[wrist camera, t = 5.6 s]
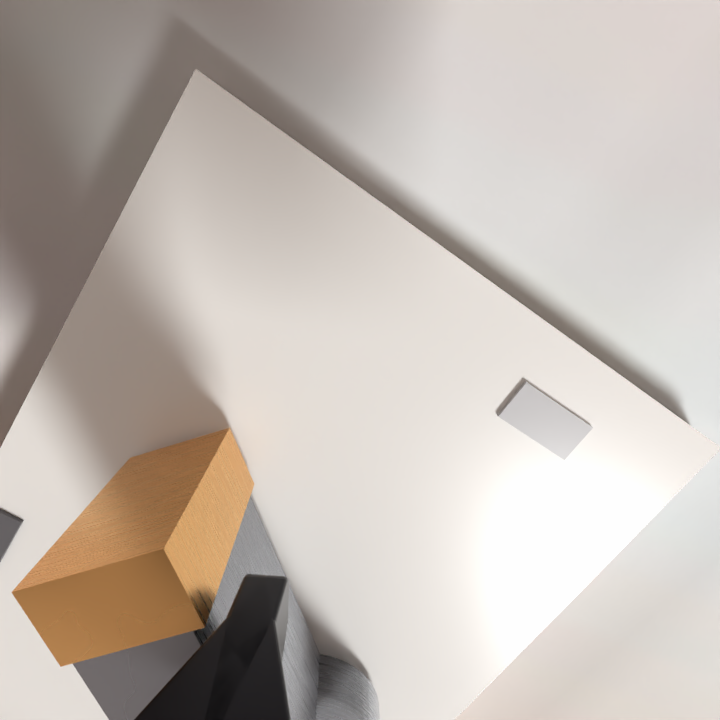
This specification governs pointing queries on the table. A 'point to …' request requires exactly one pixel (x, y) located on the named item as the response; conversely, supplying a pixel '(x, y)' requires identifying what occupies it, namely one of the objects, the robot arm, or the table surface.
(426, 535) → the base
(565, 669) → the table surface
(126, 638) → the lock lever
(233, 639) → the robot arm
